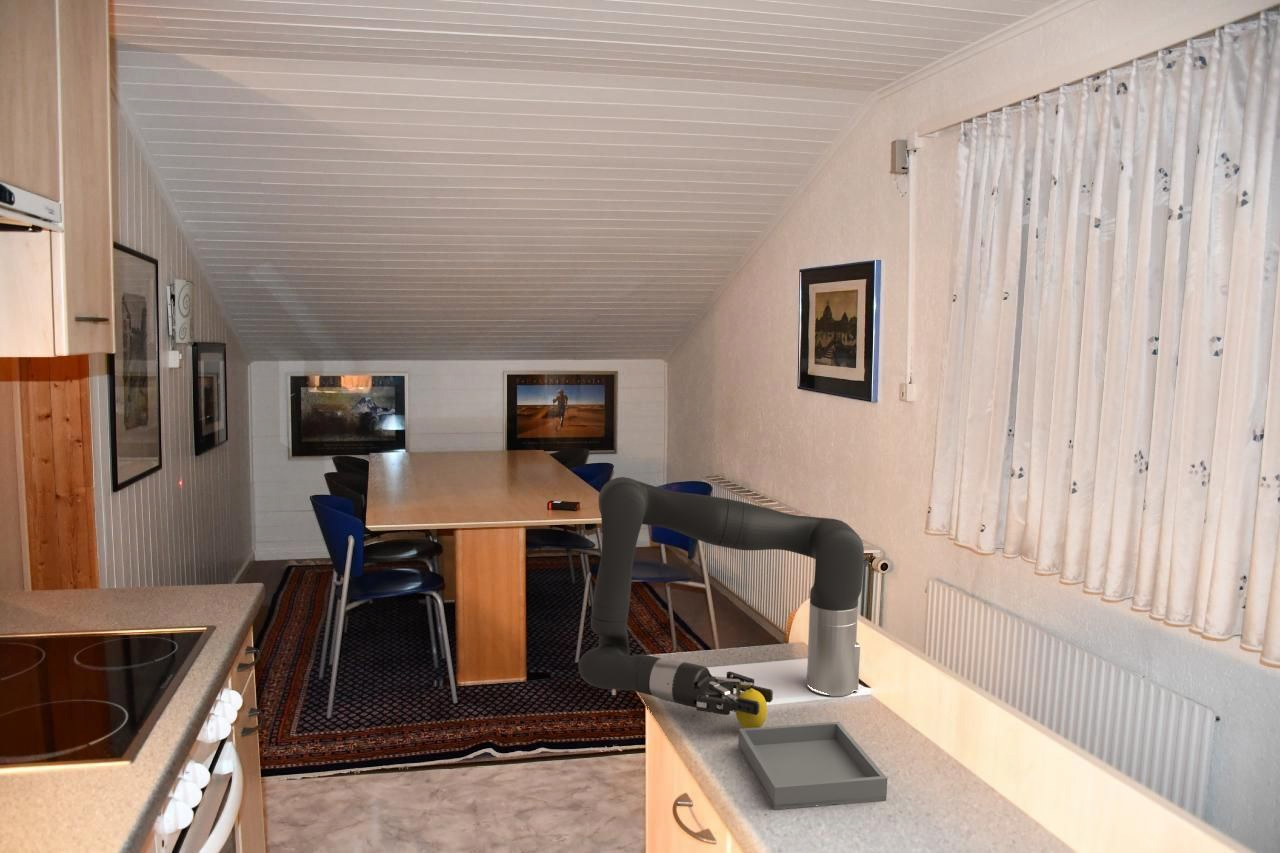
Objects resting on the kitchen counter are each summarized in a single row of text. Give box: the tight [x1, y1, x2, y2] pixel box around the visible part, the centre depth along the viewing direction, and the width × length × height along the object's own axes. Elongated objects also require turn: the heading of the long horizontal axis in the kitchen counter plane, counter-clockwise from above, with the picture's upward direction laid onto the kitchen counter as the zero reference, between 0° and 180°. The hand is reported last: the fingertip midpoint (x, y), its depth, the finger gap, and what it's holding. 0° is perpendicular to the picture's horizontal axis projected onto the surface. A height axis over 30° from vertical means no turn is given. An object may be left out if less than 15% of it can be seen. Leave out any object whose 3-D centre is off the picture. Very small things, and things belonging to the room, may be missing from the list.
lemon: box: [735, 688, 768, 728], centre depth 175 cm, size 6×6×8 cm
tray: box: [737, 721, 888, 810], centre depth 160 cm, size 18×20×4 cm
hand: (765, 702), depth 173 cm, fingers closed on lemon, 5 cm apart
